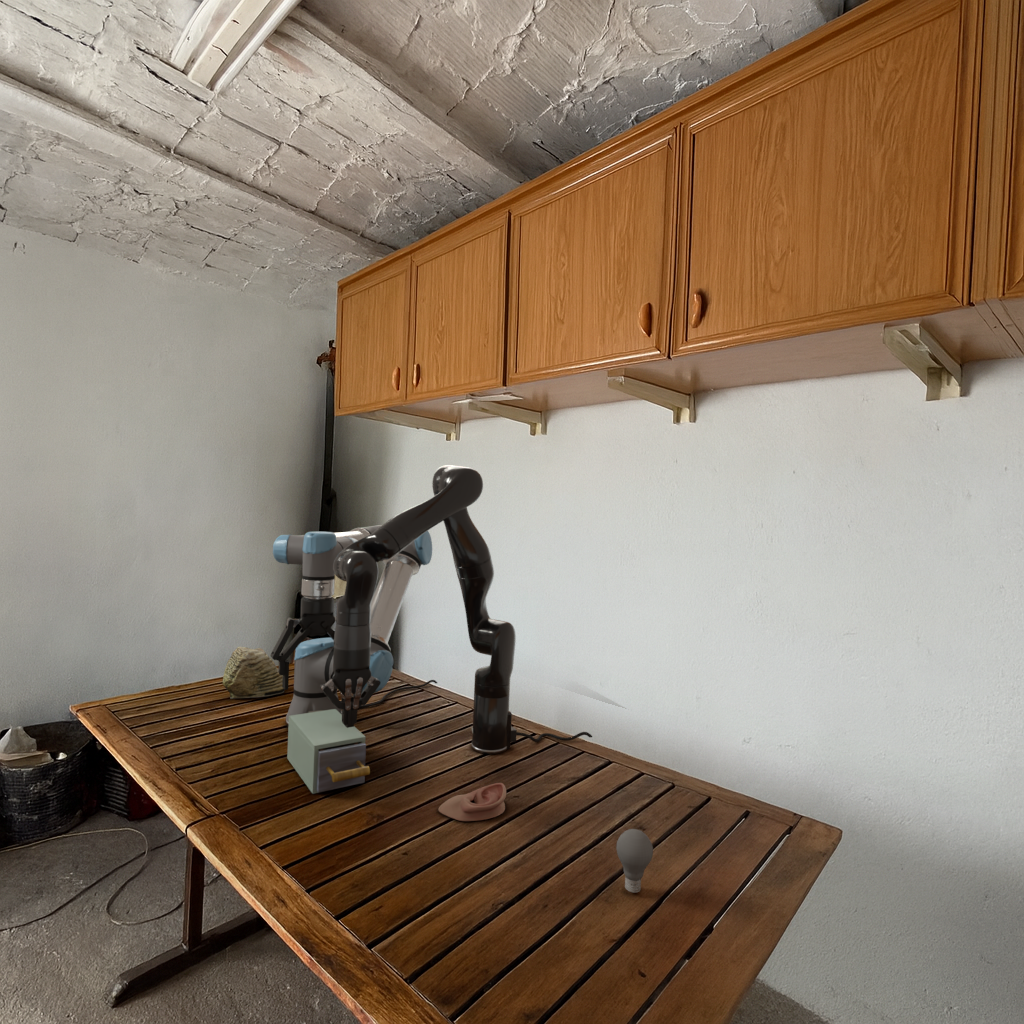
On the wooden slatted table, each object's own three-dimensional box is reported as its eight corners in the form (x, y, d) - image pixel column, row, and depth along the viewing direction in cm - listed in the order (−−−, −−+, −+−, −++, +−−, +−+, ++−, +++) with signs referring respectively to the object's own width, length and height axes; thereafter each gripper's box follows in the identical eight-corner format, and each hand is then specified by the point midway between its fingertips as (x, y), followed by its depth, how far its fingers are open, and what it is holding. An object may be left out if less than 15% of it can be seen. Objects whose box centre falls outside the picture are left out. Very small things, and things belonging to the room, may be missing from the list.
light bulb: (610, 879, 108) (613, 822, 108) (644, 879, 109) (647, 822, 109) (619, 902, 102) (622, 840, 102) (655, 901, 103) (658, 840, 103)
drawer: (374, 793, 134) (376, 754, 134) (327, 804, 129) (328, 763, 128) (335, 751, 155) (337, 716, 155) (293, 758, 150) (294, 723, 150)
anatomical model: (434, 797, 127) (451, 773, 138) (433, 817, 127) (450, 791, 138) (498, 806, 124) (510, 781, 135) (497, 826, 124) (509, 800, 136)
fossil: (218, 695, 195) (220, 647, 195) (278, 685, 208) (279, 640, 207) (228, 703, 189) (230, 653, 188) (289, 692, 201) (290, 645, 201)
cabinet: (363, 782, 141) (365, 736, 141) (312, 794, 135) (314, 745, 135) (333, 749, 158) (335, 708, 158) (287, 758, 152) (288, 715, 152)
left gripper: (266, 601, 141) (262, 696, 142) (373, 596, 155) (370, 682, 155) (259, 596, 148) (256, 686, 148) (363, 591, 161) (360, 674, 161)
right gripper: (326, 651, 127) (323, 737, 127) (388, 645, 134) (385, 726, 134) (315, 643, 133) (312, 725, 133) (375, 638, 140) (372, 715, 140)
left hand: (314, 684), depth 152 cm, fingers open, 13 cm apart
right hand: (349, 726), depth 134 cm, fingers closed
